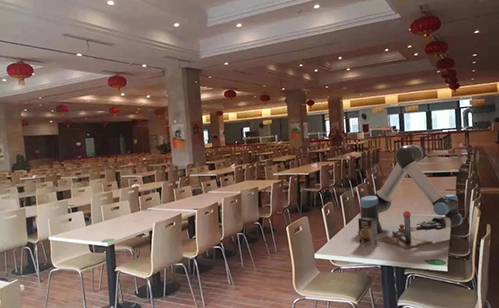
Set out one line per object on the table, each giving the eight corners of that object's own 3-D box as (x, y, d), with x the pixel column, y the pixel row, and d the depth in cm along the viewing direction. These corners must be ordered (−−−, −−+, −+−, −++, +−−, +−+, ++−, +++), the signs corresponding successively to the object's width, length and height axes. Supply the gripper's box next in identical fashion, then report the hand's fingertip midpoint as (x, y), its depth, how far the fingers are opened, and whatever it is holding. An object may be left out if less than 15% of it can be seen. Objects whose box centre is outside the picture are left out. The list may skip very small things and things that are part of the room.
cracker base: (403, 235, 266) (402, 222, 265) (432, 243, 244) (432, 229, 243) (378, 240, 258) (377, 227, 258) (406, 249, 236) (405, 235, 236)
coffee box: (359, 245, 251) (357, 218, 250) (365, 242, 255) (363, 216, 254) (372, 247, 244) (370, 220, 243) (378, 245, 248) (376, 218, 247)
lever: (391, 235, 261) (390, 205, 260) (398, 234, 261) (396, 205, 260) (406, 244, 240) (404, 212, 239) (413, 243, 240) (411, 211, 239)
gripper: (450, 230, 245) (420, 237, 235) (432, 227, 256) (403, 233, 247) (449, 218, 244) (419, 224, 235) (431, 215, 256) (402, 221, 246)
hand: (411, 229), depth 241 cm, fingers closed
